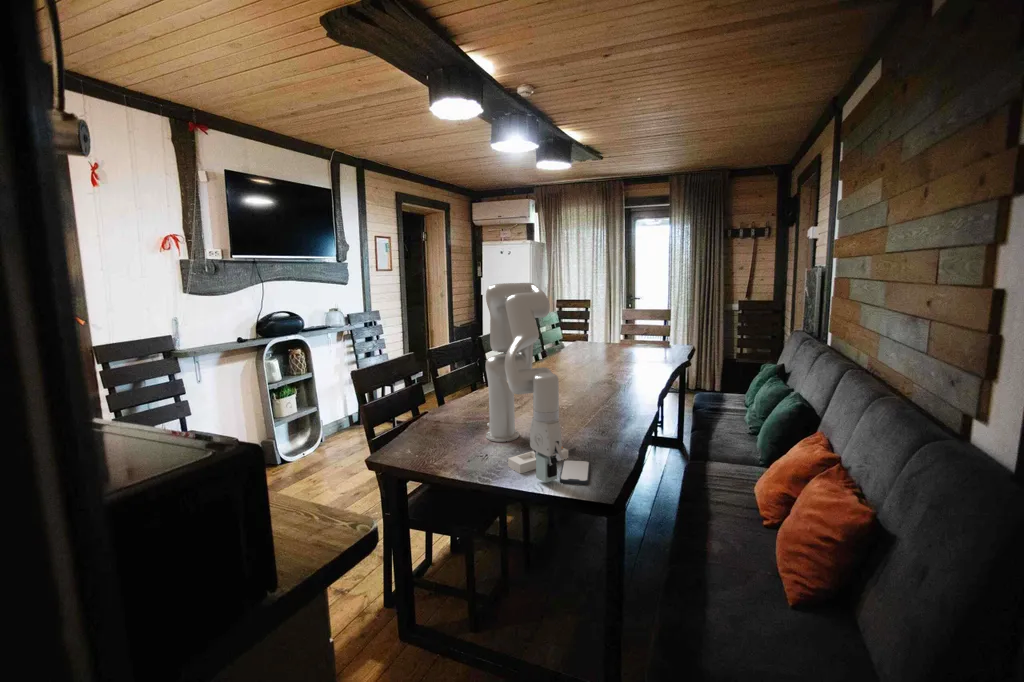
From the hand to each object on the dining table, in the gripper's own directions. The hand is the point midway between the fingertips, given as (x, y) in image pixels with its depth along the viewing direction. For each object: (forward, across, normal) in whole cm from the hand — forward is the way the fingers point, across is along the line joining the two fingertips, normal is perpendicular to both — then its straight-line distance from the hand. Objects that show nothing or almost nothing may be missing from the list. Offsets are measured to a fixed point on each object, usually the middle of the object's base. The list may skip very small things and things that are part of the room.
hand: (546, 472), depth 150 cm
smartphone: (+4, 0, +11) cm, 12 cm away
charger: (+2, 0, 0) cm, 2 cm away
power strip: (+3, -13, +10) cm, 17 cm away
